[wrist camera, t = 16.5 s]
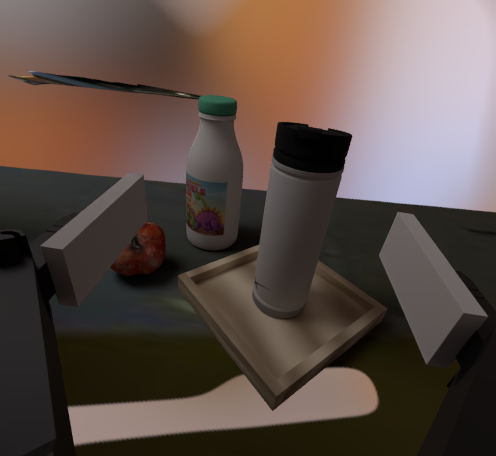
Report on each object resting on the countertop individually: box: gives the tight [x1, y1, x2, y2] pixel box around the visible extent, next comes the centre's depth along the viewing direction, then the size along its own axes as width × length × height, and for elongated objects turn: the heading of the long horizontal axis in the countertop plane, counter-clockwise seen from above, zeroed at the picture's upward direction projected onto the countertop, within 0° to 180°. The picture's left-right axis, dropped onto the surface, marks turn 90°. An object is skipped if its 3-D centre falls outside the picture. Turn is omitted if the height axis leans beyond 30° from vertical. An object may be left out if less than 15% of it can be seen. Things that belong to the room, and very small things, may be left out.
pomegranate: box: [110, 221, 165, 276], centre depth 37 cm, size 7×7×10 cm
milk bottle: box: [186, 95, 243, 251], centre depth 41 cm, size 8×8×20 cm
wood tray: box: [178, 245, 387, 411], centre depth 35 cm, size 17×17×2 cm
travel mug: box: [252, 122, 352, 318], centre depth 29 cm, size 6×7×20 cm
